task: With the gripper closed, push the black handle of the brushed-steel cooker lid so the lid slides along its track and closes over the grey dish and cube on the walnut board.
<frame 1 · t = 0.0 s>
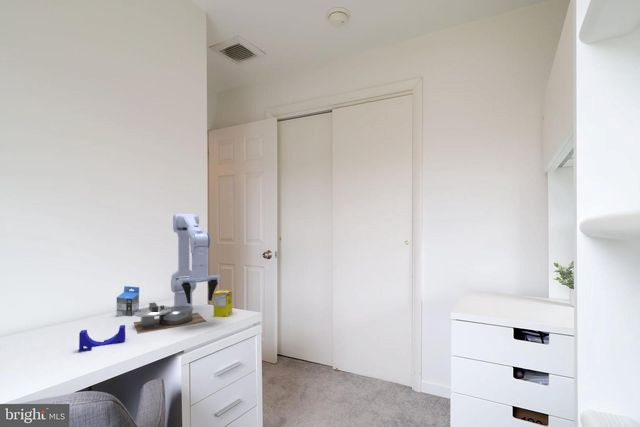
hand: (199, 301, 123), 10 cm above the table, tool pointing down, fingers open, 7 cm apart
walnut board: (170, 324, 128), on the table
cable clip: (103, 347, 105), on the table
supplement box: (223, 317, 137), on the table
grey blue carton: (127, 317, 140), on the table
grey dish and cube: (176, 321, 129), resting on walnut board
cooker lid: (153, 308, 125), point 7 cm above the table, slide at -8.0 cm
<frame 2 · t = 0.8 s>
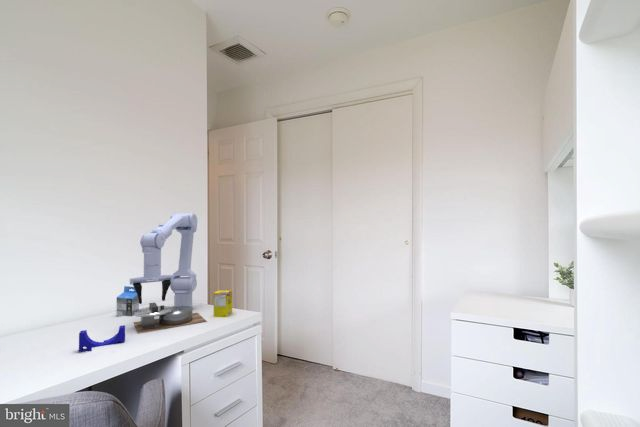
hand: (152, 301, 122), 10 cm above the table, tool pointing down, fingers open, 7 cm apart
nothing on the table moved.
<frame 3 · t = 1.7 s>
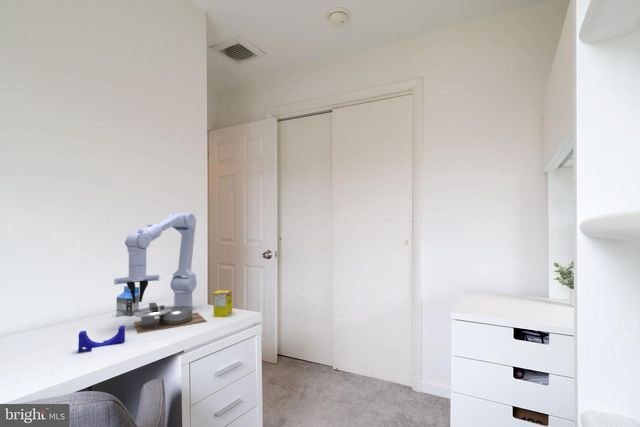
hand: (137, 301, 122), 10 cm above the table, tool pointing down, fingers closed
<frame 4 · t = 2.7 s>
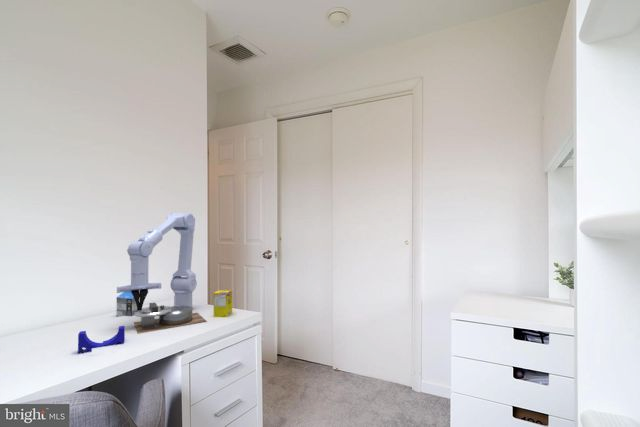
hand: (139, 310, 122), 7 cm above the table, tool pointing down, fingers closed
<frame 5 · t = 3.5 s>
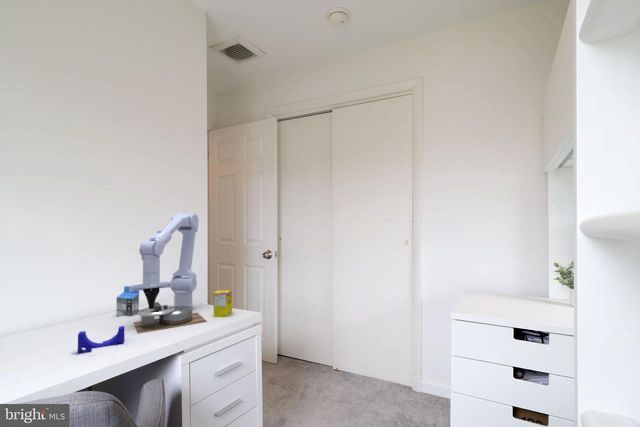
hand: (151, 308, 124), 7 cm above the table, tool pointing down, fingers closed
cooker lid: (156, 308, 125), point 7 cm above the table, slide at -6.8 cm, touching gripper
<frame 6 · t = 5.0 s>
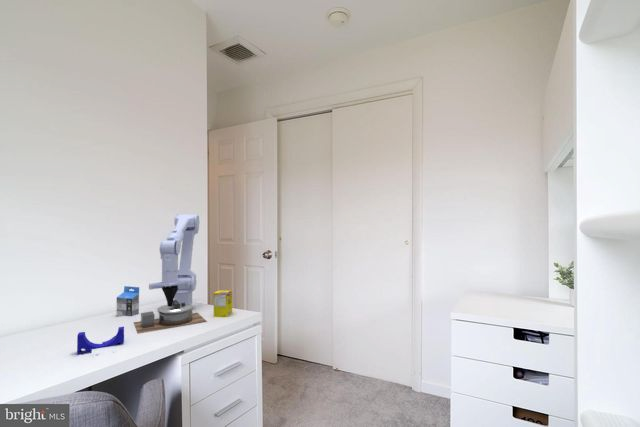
hand: (169, 305, 128), 7 cm above the table, tool pointing down, fingers closed
cooker lid: (175, 305, 129), point 7 cm above the table, slide at -0.3 cm, touching gripper
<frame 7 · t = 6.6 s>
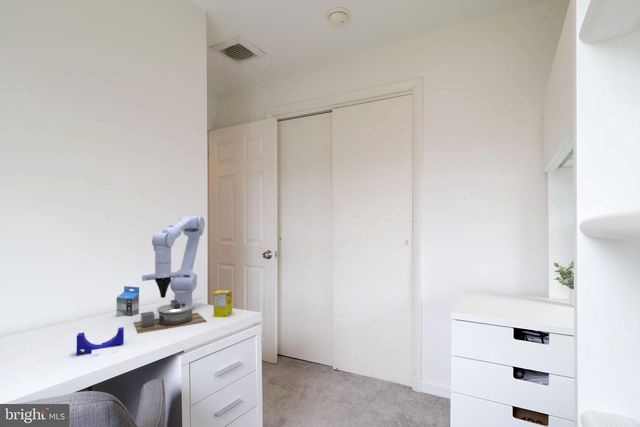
hand: (163, 297, 130), 10 cm above the table, tool pointing down, fingers closed
cooker lid: (175, 305, 129), point 7 cm above the table, slide at -0.3 cm
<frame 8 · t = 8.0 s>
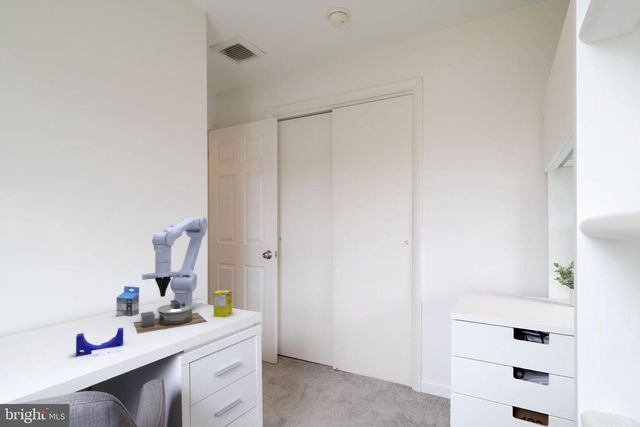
hand: (162, 296, 131), 10 cm above the table, tool pointing down, fingers closed
at the end: cooker lid slide at -0.3 cm; supplement box moved 0.2 cm from its start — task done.
